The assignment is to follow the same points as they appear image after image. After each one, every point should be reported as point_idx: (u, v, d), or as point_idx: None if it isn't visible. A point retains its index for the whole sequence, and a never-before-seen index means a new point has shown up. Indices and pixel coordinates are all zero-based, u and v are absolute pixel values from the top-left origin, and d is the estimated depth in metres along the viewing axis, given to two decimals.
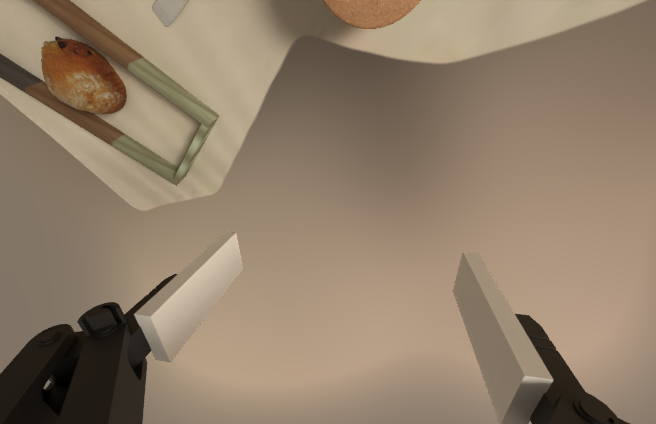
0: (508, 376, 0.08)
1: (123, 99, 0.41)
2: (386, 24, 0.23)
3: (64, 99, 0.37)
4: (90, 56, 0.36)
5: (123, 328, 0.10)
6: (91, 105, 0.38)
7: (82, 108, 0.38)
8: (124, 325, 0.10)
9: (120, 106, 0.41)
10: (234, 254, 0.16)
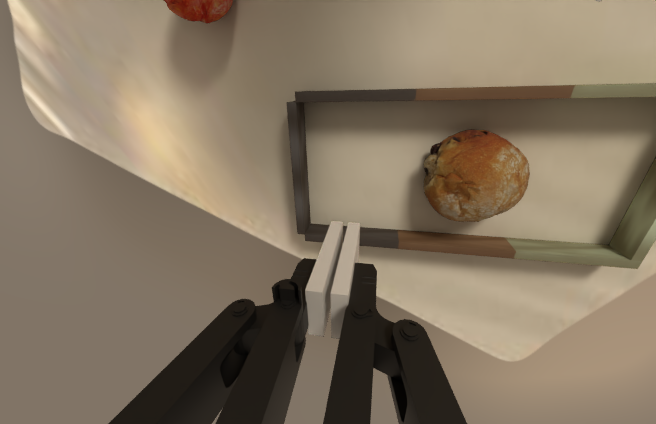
0: None
1: None
2: None
3: (487, 205, 0.25)
4: (488, 132, 0.26)
5: (298, 309, 0.10)
6: (518, 192, 0.25)
7: (503, 207, 0.25)
8: (300, 306, 0.10)
9: None
10: (341, 242, 0.17)
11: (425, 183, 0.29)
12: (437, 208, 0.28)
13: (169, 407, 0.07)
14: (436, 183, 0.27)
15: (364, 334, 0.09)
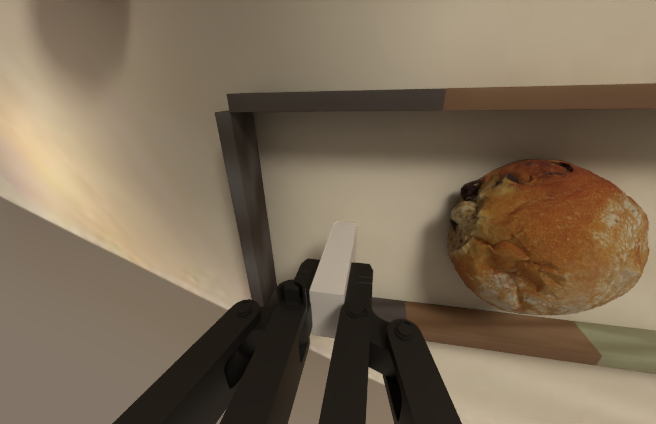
0: None
1: None
2: None
3: (575, 303, 0.13)
4: (572, 166, 0.14)
5: (302, 310, 0.10)
6: (634, 281, 0.13)
7: (602, 303, 0.14)
8: (304, 307, 0.10)
9: None
10: None
11: (451, 243, 0.18)
12: (473, 288, 0.17)
13: (173, 407, 0.07)
14: (474, 252, 0.15)
15: (359, 333, 0.09)
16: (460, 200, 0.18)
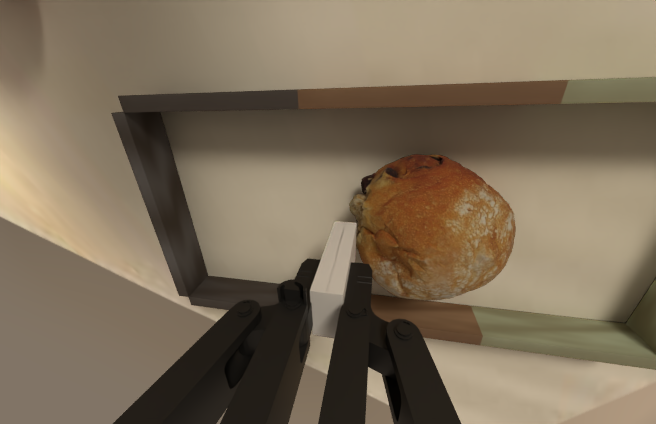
0: None
1: None
2: None
3: (442, 287, 0.14)
4: (445, 160, 0.15)
5: (303, 310, 0.10)
6: (495, 266, 0.14)
7: (471, 287, 0.15)
8: (304, 307, 0.10)
9: None
10: None
11: (357, 234, 0.19)
12: (372, 276, 0.18)
13: (174, 408, 0.07)
14: (364, 241, 0.17)
15: (359, 333, 0.09)
16: None
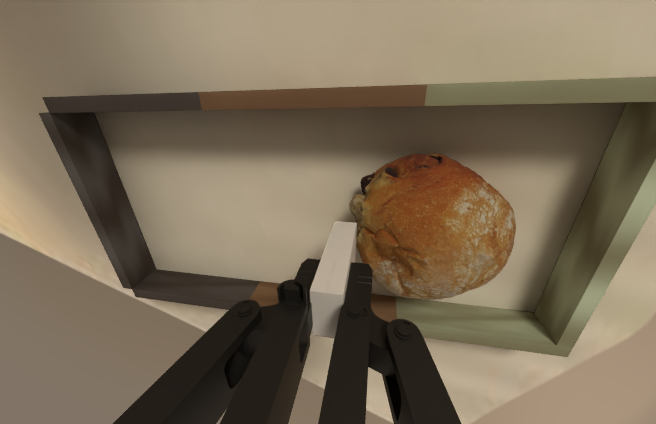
0: None
1: None
2: None
3: (442, 286, 0.14)
4: (444, 159, 0.15)
5: (303, 310, 0.10)
6: (495, 264, 0.14)
7: (472, 286, 0.15)
8: (304, 307, 0.10)
9: None
10: None
11: (357, 234, 0.19)
12: (373, 276, 0.18)
13: (173, 408, 0.07)
14: (364, 241, 0.17)
15: (359, 333, 0.09)
16: None
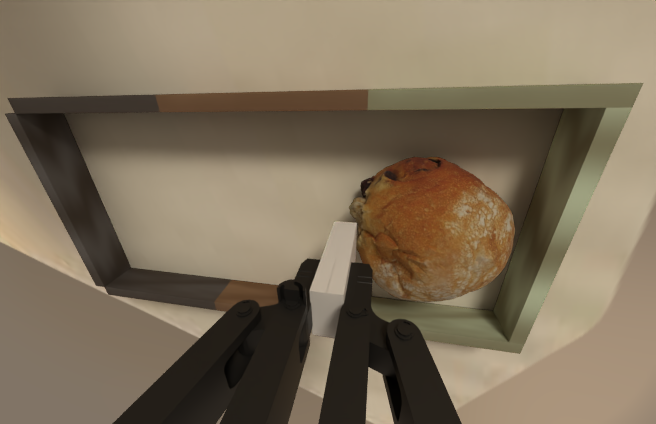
0: None
1: None
2: None
3: (442, 288, 0.14)
4: (443, 162, 0.15)
5: (303, 310, 0.10)
6: (495, 267, 0.14)
7: (472, 288, 0.15)
8: (304, 307, 0.10)
9: None
10: None
11: (357, 237, 0.19)
12: (373, 278, 0.18)
13: (173, 408, 0.07)
14: (365, 244, 0.17)
15: (359, 333, 0.09)
16: None
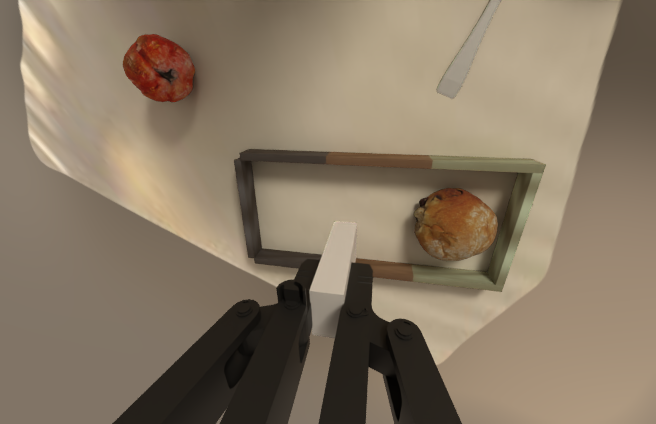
0: None
1: None
2: None
3: (464, 250, 0.31)
4: (463, 191, 0.32)
5: (303, 310, 0.10)
6: (488, 240, 0.31)
7: (477, 251, 0.32)
8: (304, 307, 0.10)
9: None
10: None
11: (416, 228, 0.36)
12: (426, 249, 0.35)
13: (173, 408, 0.07)
14: (424, 231, 0.34)
15: (359, 333, 0.09)
16: (420, 207, 0.36)
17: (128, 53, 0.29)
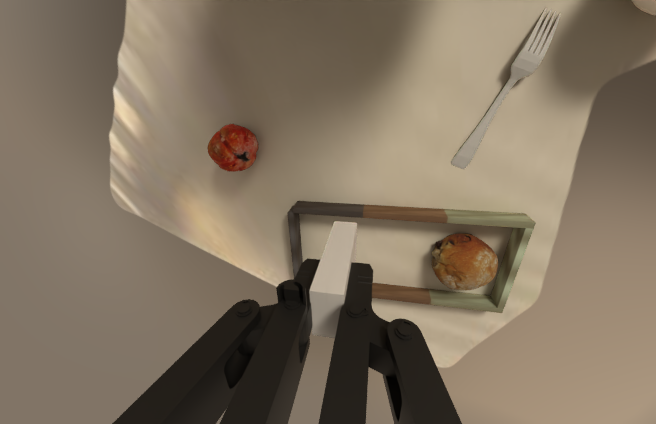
0: None
1: None
2: None
3: (472, 284, 0.40)
4: (471, 238, 0.41)
5: (302, 310, 0.10)
6: (490, 277, 0.40)
7: (482, 284, 0.41)
8: (304, 307, 0.10)
9: None
10: None
11: (432, 263, 0.45)
12: (441, 281, 0.44)
13: (173, 408, 0.07)
14: (440, 267, 0.43)
15: (359, 333, 0.09)
16: (436, 246, 0.45)
17: (214, 143, 0.38)
